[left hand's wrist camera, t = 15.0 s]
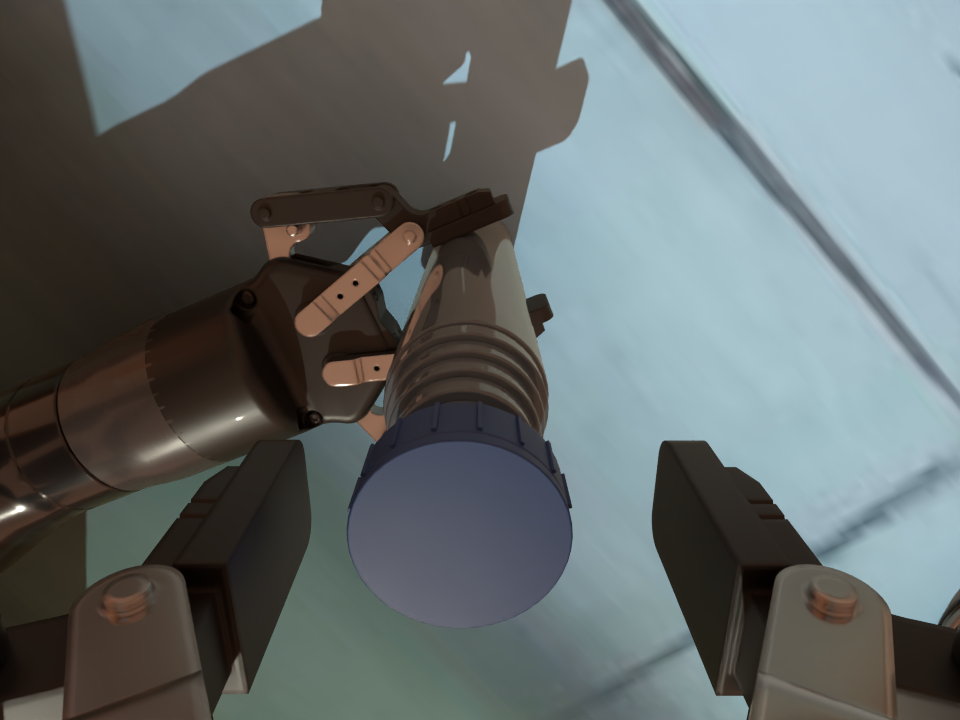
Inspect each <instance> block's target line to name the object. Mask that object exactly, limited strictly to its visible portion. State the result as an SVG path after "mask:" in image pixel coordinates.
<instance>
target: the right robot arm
mask: <svg viewBox="0 0 960 720" xmlns="http://www.w3.org/2000/svg"><path fill="white" fill-rule="evenodd" d="M250 212H251V217H252V219H253V221H254V222H255V223H256V224H257V225H258V226H260V227H263V231H264V236H265V241H266V245H267V250H268V255H269V259H270V260H269V261H268V262H266V263H265V264H264V265H263V267H262V268H261V270H260V271H259V273H258V274H257V275H256V276H255V277H254V278H252V279H250V280H248V281H246V282H244V283H241V284H239V285H237V286H234V287H232V288H230V289H227V290H225V291H223V292H220V293H218V294H216V295H213V296H211V297H209V298H206V299H204V300H202V301H199V302H197V303H195V304H192V305H190V306H188V307H185V308H183V309H181V310H178V311H176V312H174V313H171V314H169V315H167V316H165V317H159V318H155V319H152V320H149V321H146V322H144V323H142V324H141V325H140V326H139V327H138V328H136V329H134V330H132V331H129V332H127V333H125V334H122V335H120V336H118V337H116V338H114V339H112V340H110V341H109V342H107V343H105V344H104V345H102V346H101V347H99V348H97V349H96V350H94V351H93V352H91V353H89V354H88V355H86V356H84V357H82V358H80V359H78V360H75V361H73V362H71V363H68V364H66V365H63V366H61V367H59V368H56V369H54V370H52V371H49V372H47V373H45V374H42V375H40V376H38V377H36V378H33V379H31V380H28V381H26V382H24V383H22V384H19V385H17V386H15V387H13V388H10V389H8V390H6V391H5V392H3V393H1V394H0V574H1V573H2V572H4V571H5V570H7V569H8V568H9V567H11V566H12V565H13V564H15V563H16V562H17V561H18V560H19V559H21V558H22V557H23V556H24V555H26V554H27V553H28V552H29V551H30V550H32V549H33V548H34V547H35V546H36V545H38V544H39V543H40V542H41V541H43V540H44V539H45V538H46V537H48V536H49V535H50V534H52V533H53V532H55V531H56V530H57V529H59V528H60V527H62V526H63V525H64V524H66V523H67V522H69V521H70V520H71V519H73V518H74V517H76V516H77V515H79V514H81V513H83V512H85V511H87V510H90V509H92V508H95V507H98V506H100V505H103V504H106V503H108V502H111V501H113V500H116V499H118V498H121V497H124V496H126V495H129V494H131V493H134V492H137V491H139V490H141V489H144V488H147V487H150V486H154V485H159V484H164V483H168V482H172V481H176V480H180V479H183V478H186V477H189V476H192V475H195V474H197V473H200V472H203V471H205V470H208V469H210V468H213V467H216V466H218V465H221V464H223V463H226V462H229V461H231V460H234V459H236V458H239V457H241V456H244V455H247V454H248V453H249V452H250V450H251V449H252V447H253V446H254V444H255V443H256V442H257V441H258V440H286V439H288V438H291V437H293V436H296V435H299V434H301V433H304V432H306V431H309V430H311V429H313V428H315V427H317V426H319V425H322V424H325V423H332V422H338V423H355V422H357V423H358V424H359V425H360V426H361V427H362V428H363V429H364V430H365V431H366V432H367V433H368V434H369V435H370V436H371V437H372V438H373V439H374V440H375V441H376V442H377V441H378V440H379V439H380V437H381V436H382V435H383V434H384V433H385V432H386V431H387V430H386V424H385V418H384V408H383V407H378V406H376V405H375V404H374V403H375V401H376V400H377V398H378V397H379V395H380V393H381V392H382V390H383V388H384V387H385V383H386V378H387V374H388V371H389V368H390V365H391V362H392V360H393V357H394V354H395V351H396V349H397V346H398V343H399V340H400V337H401V335H402V332H403V330H401V328H400V326H399V324H398V322H397V321H396V319H395V318H394V317H393V316H392V315H391V314H390V312H389V311H388V310H387V309H386V305H385V300H384V295H383V291H382V289H381V287H380V285H379V282H380V281H381V280H383V279H384V278H385V277H386V276H387V275H388V274H389V273H390V272H391V271H392V270H393V269H394V268H395V267H397V266H398V265H399V264H400V263H401V262H403V261H404V260H405V259H406V258H407V257H409V256H410V255H411V254H412V253H413V252H415V251H416V250H417V249H418V248H420V247H423V246H425V245H427V244H430V243H432V245H433V248H435V247H437V246H440V245H442V244H444V243H447V242H449V241H450V240H453V239H456V238H459V237H461V236H464V235H466V234H468V233H471V232H473V231H475V230H478V229H480V228H483V227H485V226H487V225H490V224H492V223H495V222H497V221H499V220H502V219H504V218H506V217H508V216H510V215H512V214H513V213H514V211H513V208H512V206H511V203H510V201H509V198H508V196H507V194H504V195H501V196H498V197H496V198H494V197H493V195H492V192H491V190H490V188H485V189H476V190H473V191H471V192H469V193H466V194H464V195H462V196H459V197H457V198H454V199H452V200H450V201H447V202H445V203H443V204H440V205H438V206H436V207H433V208H431V209H429V210H424V211H421V210H416V209H414V208H413V207H411V206H410V205H409V204H408V203H407V202H406V201H405V200H404V199H403V198H402V197H401V195H400V194H399V191H398V189H397V188H396V186H394V185H393V184H391V183H389V182H380V183H370V184H360V185H349V186H339V187H329V188H319V189H309V190H299V191H289V192H279V193H275V194H272V195H269V196H266V197H264V198H262V199H259V200H257V201H255V202H254V203H253V205H252V206H251V211H250ZM367 218H376V219H377V220H378V221H379V222H380V223H381V224H382V225H383V226H384V227H385V228H386V229H387V230H388V231H389V232H388V233H387V234H386V235H385V236H384V237H383V238H381V239H380V240H379V241H378V242H376V243H375V244H374V245H373V246H371V247H370V248H369V249H368V250H367V251H366V252H364V253H363V254H362V255H361V256H360V257H359V258H357V259H356V260H355V261H354V262H353V263H352V264H350V265H349V266H348V265H344V264H340V263H335V262H331V261H327V260H322V259H318V258H314V257H310V256H305V255H301V254H297V253H295V247H296V244H297V243H298V242H300V241H303V240H305V239H307V238H308V237H309V236H311V235H312V234H313V233H314V231H315V226H316V225H315V223H326V222H336V221H346V220H357V219H367ZM526 300H527V303H528V307H529V311H530V315H531V319H532V323H533V327H534V331H535V335H536V338H537V337H538V336H539V335H540V334H541V333H542V332H544V331H545V329H544V326H543V323H544V322H546V321H548V320H550V319H551V318H552V317H553V313H552V310H551V307H550V305H549V302H548V300H547V297H546V295H545V294H538V295H535V296H533V297H530V298H527V299H526Z"/></svg>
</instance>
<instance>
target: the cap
mask: <svg viewBox="0 0 960 720" xmlns="http://www.w3.org/2000/svg"><path fill="white" fill-rule="evenodd" d="M569 508H572V504H571V500H570V496H569V492H568V487H567V483H566V479H565V475H564V474H561V472H560V468H559V466H558V463H557V460H556V458H555V456H554V454H553V452H552V448H551V443H550V442H549V441H546V442H545V440H544V439H543V438H542V437H541V436H540V435H539V434H538V433H537V432H536V431H535V430H534V429H533V428H532V427H531V426H529V425H528V424H527V423H526V422H524V421H523V420H522V417H521V416H520V415H517V417H516V416H514V415H513V414H510V413H508V412H506V411H503V410H501V409H498V408H495V407H491V406H488V405H483V404H482V402H480V401H478V403H467V402H455V403H444V404H440V402H436V403H435V405H434V406H430V407H427V408H424V409H421V410H418V411H416V412H414V413H412V414H410V415H408V416H406V417H404V418H403V419H402V418H401V417H399V418H397V420H396V423H395V424H394V425H393V426H392V427H390V428H389V429H388V430H387V431H386V432H385V433H384V434H383V435H382V436H381V437H380V439H379V440H378V441H377V442H376V444H375V445H374V444H371V446H370V448H369V451H368V454H367V457H366V460H365V463H364V466H363V469H362V472H361V477H358V480H357V483H356V486H355V489H354V492H353V495H352V498H351V501H350V504H349V507H348V512H349V516H348V523H347V542H348V547H349V553H350V556H351V558H352V561H353V564H354V566H355V568H356V570H357V572H358V574H359V576H360V578H361V579H362V580H363V582H364V583H365V584H366V586H367V587H368V588H369V589H370V590H371V591H372V593H373V594H374V595H375V596H376V597H378V598H379V599H380V600H381V601H382V602H384V603H385V604H386V605H387V606H389V607H391V608H392V609H394V610H395V611H397V612H399V613H401V614H403V615H405V616H407V617H409V618H411V619H414V620H417V621H420V622H422V623H426V624H430V625H434V626H441V627H448V628H473V627H481V626H487V625H492V624H495V623H499V622H502V621H505V620H508V619H510V618H513V617H515V616H517V615H519V614H521V613H523V612H524V611H526V610H528V609H529V608H531V607H532V606H534V605H535V604H536V603H538V602H539V601H540V600H541V599H542V598H543V597H545V596H546V595H547V594H548V593H549V591H550V590H551V589H552V588H553V587H554V586H555V584H556V583H557V581H558V580H559V578H560V577H561V575H562V573H563V571H564V569H565V567H566V564H567V562H568V559H569V556H570V552H571V547H572V538H573V534H572V522H571V517H570V512H569Z"/></svg>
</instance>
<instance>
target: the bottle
mask: <svg viewBox="0 0 960 720" xmlns="http://www.w3.org/2000/svg"><path fill="white" fill-rule="evenodd" d="M548 396H549V394H548V383H547V379H546V374H545V370H544V366H543V362H542V359H541V355H540V351H539V347H538V343H537V339H536V335H535V331H534V327H533V323H532V319H531V315H530V311H529V307H528V303H527V300H526V296H525V292H524V288H523V284H522V280H521V276H520V272H519V268H518V264H517V260H516V256H515V252H514V248H513V244H512V241H511V237H510V234H509V232H508V230H507V229H506V227H505V226H504V224H503V223H502V222H501V221H500V220H499V221H497V222H495V223H492V224H490V225H487V226H485V227H483V228H480V229H478V230H475V231H473V232H471V233H468V234H466V235H464V236H461V237H459V238H456V239H453V240H450V241H449V242H447V243H444V244H442V245H440V246H437V247H435V248H433V249H432V252H431V254H430V257H429V260H428V263H427V265H426V268H425V271H424V274H423V276H422V279H421V282H420V285H419V288H418V290H417V293H416V296H415V299H414V301H413V304H412V307H411V310H410V313H409V315H408V318H407V321H406V324H405V326H404V329H403V332H402V335H401V337H400V340H399V343H398V346H397V349H396V351H395V354H394V357H393V360H392V362H391V365H390V368H389V371H388V374H387V378H386V383H385V394H384V402H383V408H384V418H385V424H386V430H388V429H389V428H390V427H392V426H393V425H394V424H395V423H396V420H397V418H399V417H401V418H402V419H403V418H404V417H406V416H408V415H410V414H412V413H414V412H416V411H418V410H421V409H424V408H427V407H430V406H434V405H435V403H436V402H440V404H444V403H455V402H467V403H478V401H480V402H482V404H483V405H488V406H491V407H495V408H498V409H501V410H503V411H506V412H508V413H510V414H513V415H514V416H516V417H517V415H520V416H521V417H522V420H523V421H524V422H526V423H527V424H528V425H529V426H531V427H532V428H533V429H534V430H535V431H536V432H537V433H538V434H539V435H540V436H541V437H542V438H543V435H544V430H545V428H546V424H547V419H548V409H549V407H548Z"/></svg>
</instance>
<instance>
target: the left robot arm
mask: <svg viewBox="0 0 960 720" xmlns="http://www.w3.org/2000/svg"><path fill="white" fill-rule="evenodd" d="M652 531H653V538H654V543H655V546H656V549H657V552H658V554H659V557H660V559H661V562H662V564H663V566H664V569H665V571H666V574H667V576H668V579H669V581H670V584H671V586H672V588H673V591H674V593H675V596H676V598H677V601H678V603H679V606H680V608H681V611H682V613H683V615H684V618H685V620H686V623H687V625H688V628H689V630H690V633H691V635H692V638H693V640H694V642H695V645H696V647H697V650H698V652H699V655H700V657H701V660H702V662H703V665H704V667H705V669H706V672H707V674H708V677H709V679H710V682H711V684H712V687H713V689H714V691H715V694H716V696H744V698H745V701H746V703H747V705H748V707H749V710H748V715H747V720H960V603H959V604H958V605H957V606H956V607H955V608H954V609H953V610H952V611H951V612H950V613H949V614H948V616H947V617H946V618H945V620H944V621H943V623H942V625H941V626H940V625H936V624H931V623H926V622H922V621H917V620H913V619H908V618H904V617H900V616H896V615H893V614H891V612H890V609H889V607H888V605H887V603H886V602H885V601H884V599H883V598H882V597H881V596H880V595H879V594H878V593H877V592H876V591H875V590H874V589H873V588H871V587H870V586H869V585H867V584H866V583H864V582H863V581H861V580H859V579H857V578H856V577H854V576H852V575H849V574H847V573H845V572H842V571H839V570H836V569H833V568H829V567H825V566H823V565H822V564H821V563H820V561H819V560H818V559H817V558H816V556H815V555H814V554H813V552H812V551H811V550H810V548H809V547H808V546H807V544H806V543H805V542H804V541H803V539H802V538H801V537H800V535H799V534H798V533H797V531H796V530H795V529H794V527H793V526H792V525H791V523H790V522H789V521H788V520H787V519H785V518H784V514H783V513H782V512H781V510H780V509H779V508H778V506H777V505H776V504H773V500H772V499H771V497H770V496H769V495H768V493H767V492H766V491H765V489H764V488H763V487H762V485H761V484H760V483H759V482H758V481H756V480H755V479H753V478H752V477H750V476H749V475H747V474H746V473H744V472H743V471H741V470H740V469H738V468H737V467H724V466H723V464H722V463H721V461H720V460H719V459H718V457H717V456H716V454H715V453H714V451H713V450H712V449H711V447H710V446H709V444H708V443H707V442H706V441H663V442H662V444H661V446H660V450H659V456H658V465H657V474H656V483H655V491H654V500H653V509H652ZM310 532H311V507H310V498H309V489H308V480H307V471H306V462H305V453H304V448H303V444H302V442H301V441H300V440H258V441H257V442H256V443H255V444H254V446H253V447H252V449H251V450H250V452H249V453H248V454H247V456H246V457H245V459H244V460H243V462H242V463H241V465H240V466H227V467H226V468H224V469H223V470H221V471H220V472H218V473H217V474H215V475H214V476H212V477H211V478H209V479H208V480H206V481H205V482H204V483H203V484H202V486H201V487H200V488H199V490H198V491H197V492H196V494H195V495H194V496H193V498H192V499H191V503H188V504H187V506H186V507H185V508H184V510H183V511H182V512H181V514H180V518H177V519H176V520H175V521H174V523H173V524H172V525H171V527H170V528H169V529H168V531H167V532H166V533H165V535H164V536H163V537H162V539H161V540H160V541H159V543H158V544H157V545H156V547H155V548H154V549H153V551H152V552H151V553H150V555H149V556H148V557H147V559H146V560H145V561H144V563H143V564H142V565H140V566H135V567H131V568H127V569H124V570H121V571H118V572H115V573H113V574H111V575H108V576H106V577H104V578H103V579H101V580H99V581H97V582H96V583H94V584H93V585H91V586H90V587H89V588H87V589H86V590H85V591H84V592H83V593H82V594H81V595H80V596H79V597H78V598H77V599H76V601H75V602H74V603H73V605H72V607H71V609H70V612H69V614H67V615H63V616H59V617H54V618H50V619H45V620H40V621H36V622H31V623H27V624H22V625H17V626H13V627H8V628H5V626H4V623H3V620H2V618H1V615H0V720H213V715H212V714H213V712H214V710H215V707H216V705H217V703H218V701H219V699H220V696H221V694H248V693H249V691H250V688H251V686H252V683H253V681H254V678H255V676H256V673H257V671H258V668H259V666H260V663H261V661H262V658H263V656H264V654H265V651H266V649H267V646H268V644H269V641H270V639H271V636H272V634H273V631H274V629H275V626H276V624H277V621H278V619H279V616H280V614H281V611H282V609H283V606H284V604H285V601H286V599H287V596H288V594H289V591H290V589H291V586H292V584H293V581H294V579H295V576H296V574H297V571H298V569H299V566H300V564H301V561H302V559H303V556H304V554H305V551H306V549H307V546H308V543H309V538H310Z"/></svg>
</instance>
